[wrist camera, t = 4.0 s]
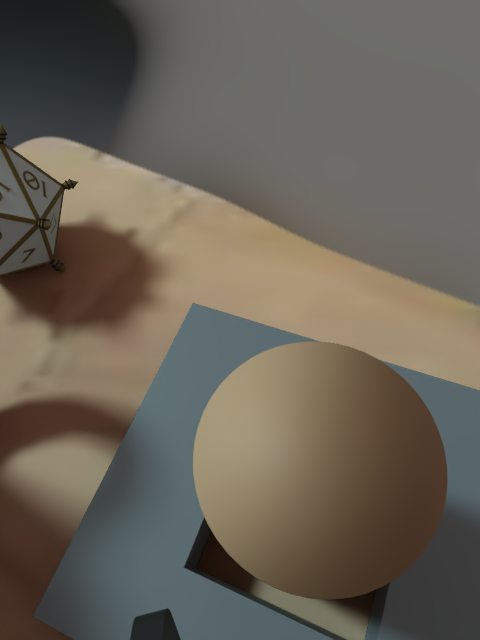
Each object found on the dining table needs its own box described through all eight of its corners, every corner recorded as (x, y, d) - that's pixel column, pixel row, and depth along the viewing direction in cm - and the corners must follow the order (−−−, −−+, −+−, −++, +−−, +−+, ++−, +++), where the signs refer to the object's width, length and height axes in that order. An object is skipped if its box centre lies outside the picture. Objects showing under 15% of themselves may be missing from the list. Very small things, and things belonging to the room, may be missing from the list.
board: (62, 611, 19) (32, 616, 17) (201, 326, 25) (193, 302, 22) (473, 837, 15) (505, 883, 12) (524, 429, 20) (552, 413, 18)
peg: (227, 553, 19) (151, 530, 9) (268, 441, 21) (246, 315, 11) (344, 606, 18) (417, 654, 7) (375, 482, 20) (467, 382, 10)
